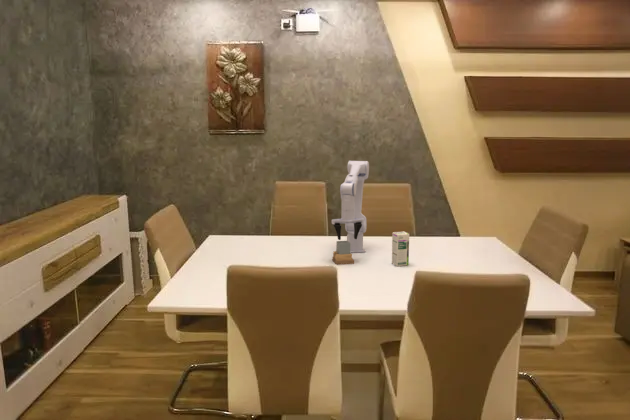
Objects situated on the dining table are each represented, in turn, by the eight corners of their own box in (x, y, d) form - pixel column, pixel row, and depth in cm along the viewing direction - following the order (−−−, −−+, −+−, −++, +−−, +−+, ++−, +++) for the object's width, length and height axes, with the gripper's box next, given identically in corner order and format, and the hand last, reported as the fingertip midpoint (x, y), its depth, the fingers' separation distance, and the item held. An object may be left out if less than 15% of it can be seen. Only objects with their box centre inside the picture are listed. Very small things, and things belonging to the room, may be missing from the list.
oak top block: (333, 256, 248) (333, 251, 248) (348, 256, 249) (348, 250, 249) (336, 260, 241) (336, 255, 241) (351, 259, 243) (352, 254, 242)
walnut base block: (332, 261, 249) (332, 256, 248) (349, 260, 250) (349, 255, 250) (336, 266, 241) (336, 261, 240) (354, 265, 243) (354, 260, 242)
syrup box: (396, 266, 239) (397, 234, 236) (391, 263, 244) (392, 231, 242) (408, 265, 240) (409, 233, 238) (403, 262, 246) (404, 230, 243)
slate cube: (336, 251, 246) (336, 241, 246) (346, 251, 248) (347, 240, 247) (339, 254, 242) (339, 243, 241) (350, 254, 243) (350, 243, 242)
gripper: (334, 211, 237) (334, 241, 239) (366, 210, 240) (365, 240, 243) (330, 208, 244) (330, 238, 246) (361, 207, 247) (360, 236, 249)
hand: (347, 239), depth 245 cm, fingers open, 7 cm apart
